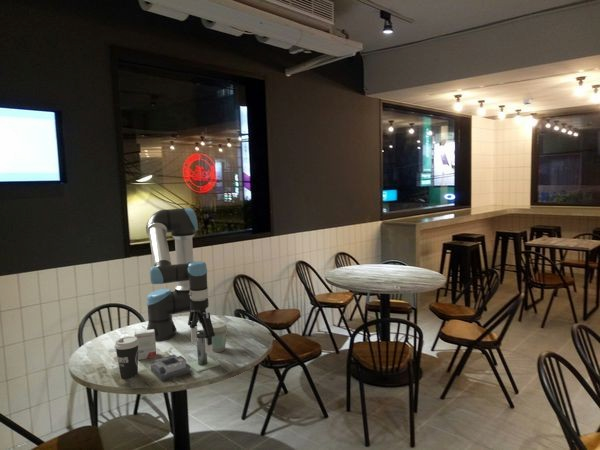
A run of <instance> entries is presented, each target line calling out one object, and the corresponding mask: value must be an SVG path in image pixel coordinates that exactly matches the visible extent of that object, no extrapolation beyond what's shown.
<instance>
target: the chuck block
mask: <svg viewBox="0 0 600 450" xmlns="http://www.w3.org/2000/svg"><path fill="white" fill-rule="evenodd" d="M150 369H151V370H150V371H151V373H152V374H154V375H155V376H156V377H157V378H158V379H159V381H161V382H165V381H168V380H172V379H174V378H178V377H180V376H184V375H187V374H190V373H191V369H192V368H191V367H190V366H189V365H188V364H187V359H186V358H185V357H183V356H182V355H177V354H172V355H168V356H164V357H161V358H157V359H155V360H154V363H153V365H150Z"/></svg>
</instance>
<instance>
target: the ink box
mask: <svg viewBox="0 0 600 450" xmlns="http://www.w3.org/2000/svg"><path fill="white" fill-rule="evenodd" d="M133 337H136V338H137V339H138V340H139V345H138V361H140V360H145V359H151V358H152V359H153V358H157V344H156V342H157V341H155V330H154V329H151V330H147V329H145V330H138V331H137V330H136V331H134V336H133Z"/></svg>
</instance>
